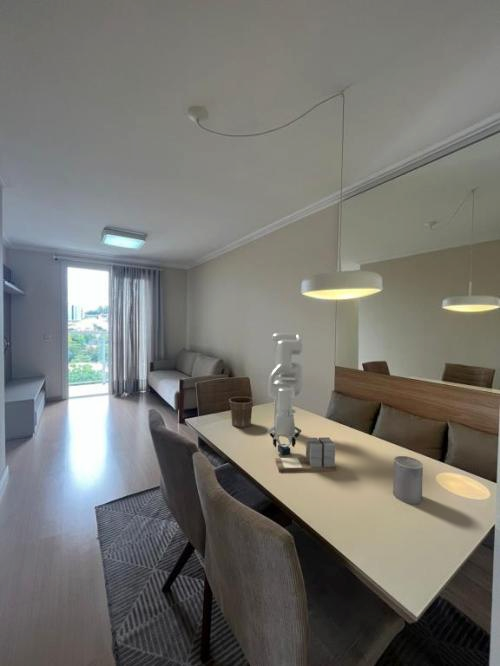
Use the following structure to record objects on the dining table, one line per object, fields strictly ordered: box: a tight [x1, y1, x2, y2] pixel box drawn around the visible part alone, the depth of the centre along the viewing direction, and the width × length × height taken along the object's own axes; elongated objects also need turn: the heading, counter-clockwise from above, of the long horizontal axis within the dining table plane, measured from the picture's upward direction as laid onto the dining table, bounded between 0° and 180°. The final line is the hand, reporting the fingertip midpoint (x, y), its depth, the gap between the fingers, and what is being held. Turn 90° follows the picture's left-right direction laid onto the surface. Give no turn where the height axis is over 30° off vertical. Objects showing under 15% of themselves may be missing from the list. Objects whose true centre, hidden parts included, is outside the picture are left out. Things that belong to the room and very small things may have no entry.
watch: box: [276, 435, 293, 456], centre depth 144 cm, size 6×8×11 cm
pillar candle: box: [392, 455, 424, 505], centre depth 109 cm, size 10×10×15 cm
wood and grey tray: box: [274, 437, 337, 473], centre depth 131 cm, size 10×26×12 cm, turn 94°
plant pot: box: [228, 396, 255, 428], centre depth 184 cm, size 16×16×16 cm
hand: (284, 446), depth 144 cm, fingers open, 8 cm apart
